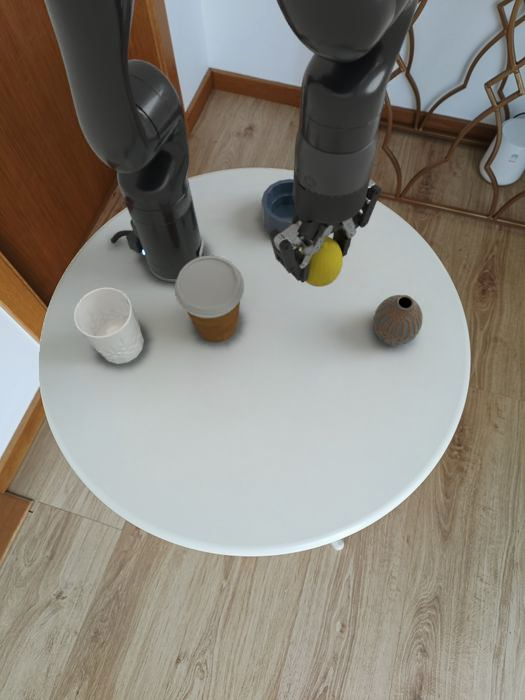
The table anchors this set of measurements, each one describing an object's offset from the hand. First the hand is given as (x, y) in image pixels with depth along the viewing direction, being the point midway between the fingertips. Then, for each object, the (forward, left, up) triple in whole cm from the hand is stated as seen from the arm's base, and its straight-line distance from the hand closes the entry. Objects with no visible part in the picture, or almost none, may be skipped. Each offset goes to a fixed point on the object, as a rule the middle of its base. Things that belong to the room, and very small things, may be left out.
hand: (319, 263), depth 66 cm
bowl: (-14, +16, -17) cm, 27 cm away
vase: (+11, +7, -17) cm, 21 cm away
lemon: (0, 0, -4) cm, 4 cm away
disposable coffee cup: (-12, -7, -17) cm, 23 cm away
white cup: (-22, -18, -17) cm, 34 cm away
